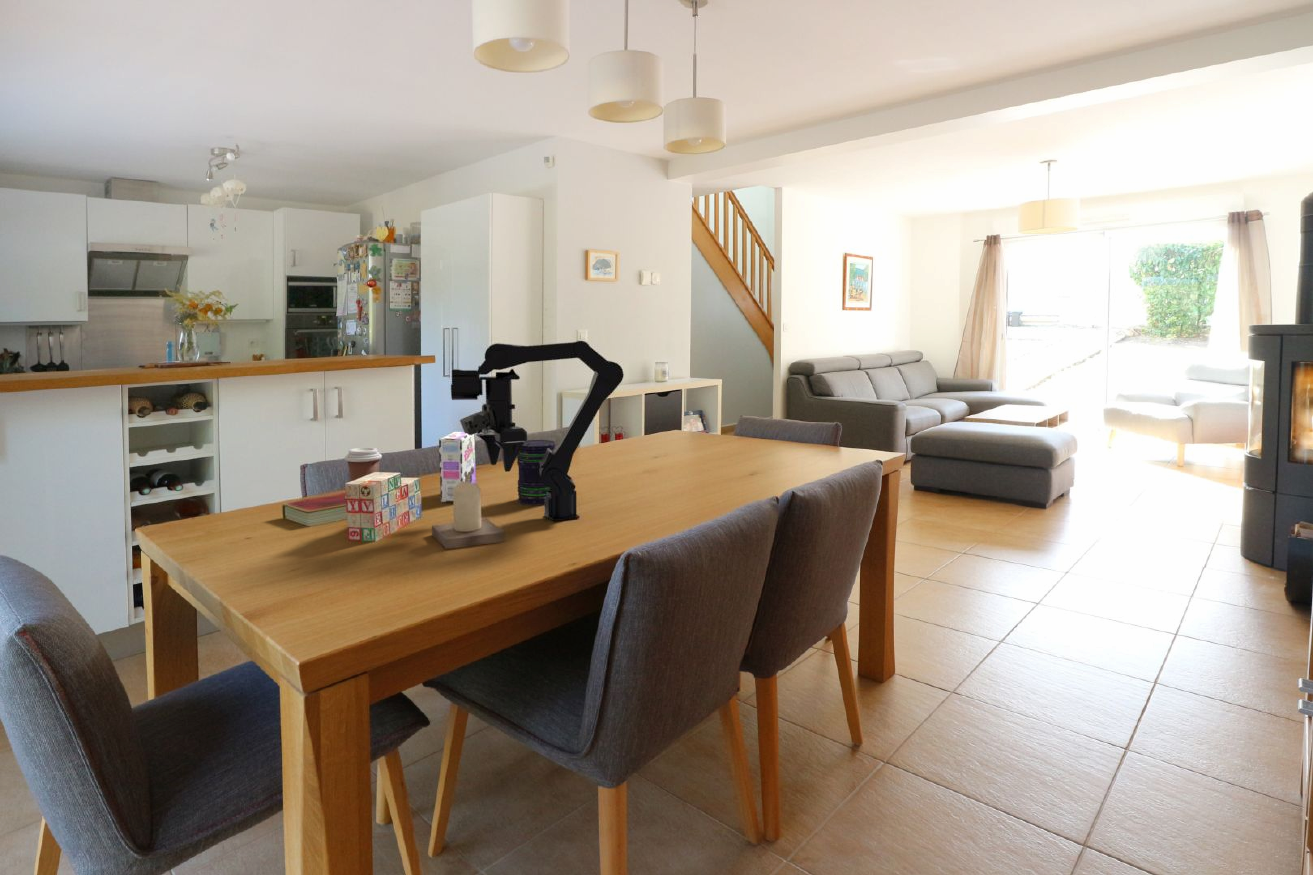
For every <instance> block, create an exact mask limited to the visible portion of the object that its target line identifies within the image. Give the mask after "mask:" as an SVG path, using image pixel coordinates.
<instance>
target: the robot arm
mask: <svg viewBox="0 0 1313 875" xmlns="http://www.w3.org/2000/svg"><path fill="white" fill-rule="evenodd" d="M569 359H570V360H571V359H579V361H581V362H582V363H584V365H586V366H587V367H588V368H589V369H591V370H592V371H593V372H594V373H593V376H592V379H591V382H590V384H589V389H588V392H587V394H586V396H585V397H584V400H583V402H582V403H581V405H580V406H579V408H578V410H577V412H576V413H575V415H574V417H573V419H572V421H571V423H570V424H569V426H568V428H567V429H566V431H565V433H564V434H563V436H562V438H561V440H560V442H559V444H558V445H556V446H555V449H554V450H553V451H551V450H550V449H549V448H547V450H546V453H545V456H544V458H543V459H542V460H541V461H540V462H539V464H540V469H539V472H540V476H541V480H542V482H543V483H544V484H545V485H546V486H547V487H550V491H547V498H545V505H544V513H543V515H544V517H546V518H548V519H550V520H551V521H553V522H558V521H564V520H566V521H567V520H573V519H580V517H581V516H580V515H579V514H578V513H577V507H578V506H577V490H576V487H577V486H576V484H575V482H574V480H573V478H572V477H571V476H570V475H569V474H568V473H569V471H570V467H571V463H572V461H573V457H574V454H575V452H576V450H577V449H578V446H579V445H580V443H581V442H582V440H583V438H584V436H585V434H586V433H587V432H588V430H589V427H590V426H591V424H592V422H593V420H594V419H595V417H596V416H597V413H598V412H599V410H600V408H601V406H602V405H603V403H604V402H605V401H606V400H607V399H608V398H609V397H610V396H611V394H613V393H614V392H615V390H616V389H617V388H618V386H620V384H621V383H622V381H623V379H624V375H625V374H624V370H623V368H622V367H621V365H620V364H619V363H618V362H615V361H612V360H607V359H606V358H605V357H604V356H602V355H601V354H599V352H597V351H596V350H595V349H593V348H592V347H591V346H590V344H589V343H588V342H587V341H585V340H576V341H571V342H558V343H548V344H547V343H545V344H536V345H535V344H533V345H521V344H520V345H519V344H511V343H500V342H499V343H496V342H495V343H493V344H491V345H489V346H488V347H487V349H486V350H485V353H484V360H483V362H482V363H481V365H478V368H477V369H468V370H467V369H458V368H453V369H452V370H451V384H450V396H451V400H452V401H478V399H479V397H480V396H483V394H484V392H483V389H484V388H483V387H484V386H483V380H484V381H485V403H482V405H481V410H480V411H478V412H475V413H473V414H469V415H467V416H465V417H463V418H461V419H459V422H460V425H461V427H462V430H463V432H465V433H467V434H468V435H473V434H474V435H475V434H476V435H475V436H477V437H478V439H480V440H481V441H483V443H484V446H485V450H486V452H487V455H488V460H489V464H490V465H491V466H496V465H497V462H498V459H499V456H500V452H501V456H502V462H503V467H504V468H503V470H504V471H505V472H507V473H509V472H511V470H512V468H513V466H514V463H515V461H516V460H517V455H518V453H519V451H520V449H521V447H522V445H523V444H524V443H525V441H528V432H527V430H526V429H525V428H524V427H520V426H517V425H516V422H513V410H516V404H514V403H513V398H512V397H513V394H512V393H513V390H512V381H515V380H520V379H521V377H520V375H519V374H518V373H516V371H515V370H514V368H513V367H516V366H519V365H523V364H526V363H527V364H528V363H532V362H533V363H535V362H545V361H557V360H569ZM509 368H511V369H510V370H509V371H502V370H506V369H509ZM493 371H495V376H494V375H493V376H492V375H491V376H487V375H488V374H490V373H492V372H493ZM481 375H482V376H481ZM484 375H485V376H484Z"/></svg>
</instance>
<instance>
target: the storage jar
mask: <svg viewBox="0 0 1313 875" xmlns="http://www.w3.org/2000/svg"><path fill="white" fill-rule="evenodd" d="M556 447H557V444H556V441H554V440H545V439H534V440H533V439H530V440H528V439H527V441H525V443H524V444H523V445H522V447H521V449H520V451H519V453H518V455H517V457H516V460H517V461H516V463H517V467H518V480H517V493H518V494H517V495H518V500H517V502H518V503H519V504H522V505H527V506H542V505H543V506H545V498H547V491H550V487H547V486H546V485H545V484H544V483H543V482H542V480H541V476H540V472H539V469H540V464H539V462H540V461H541V460H542V459H543V458H544V456H545V453H546V450H547V448H549V449H550V450H551V451H553V450H554V449H555V448H556Z"/></svg>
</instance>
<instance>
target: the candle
mask: <svg viewBox="0 0 1313 875" xmlns="http://www.w3.org/2000/svg"><path fill="white" fill-rule="evenodd" d="M481 496H482V495H481V487H480V485H478V484H477V483H476V484H475V483H474V482H473V483H470V482H464V481H461V482H459V483H458V484H457V486H456V487H455V488H454V489H453V502H452V503H453V523H454V528H455V530H456V531H460V532H471V531H476V530H479V529H481V520H482V502H481V501H482V499H481Z"/></svg>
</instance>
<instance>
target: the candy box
mask: <svg viewBox="0 0 1313 875" xmlns="http://www.w3.org/2000/svg"><path fill="white" fill-rule="evenodd" d="M475 441H476V440H475V434H473V435H468V434H467V433H465V432H464V431H453V432H452V433H450V434H447V435H445V436H443V437H440V438H438V446H439V447H438V450H439V455H438V456H439V479H440V481H439V483H440V487H439V488H440V503H454V502H453V489H454V488H455V487H456V486H457V484H458V483H459V482H461V481H464V482H470V483H473V482H474V483H475V484H476V485H477V473H476V448H475V447H476V446H475V444H476V442H475Z"/></svg>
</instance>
